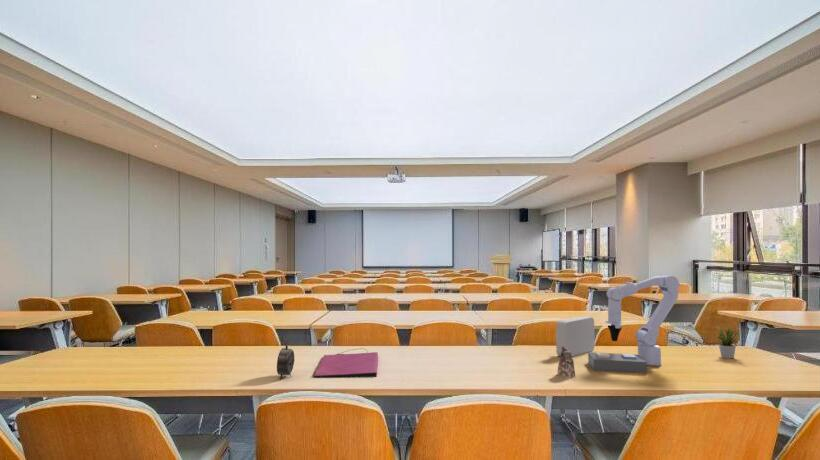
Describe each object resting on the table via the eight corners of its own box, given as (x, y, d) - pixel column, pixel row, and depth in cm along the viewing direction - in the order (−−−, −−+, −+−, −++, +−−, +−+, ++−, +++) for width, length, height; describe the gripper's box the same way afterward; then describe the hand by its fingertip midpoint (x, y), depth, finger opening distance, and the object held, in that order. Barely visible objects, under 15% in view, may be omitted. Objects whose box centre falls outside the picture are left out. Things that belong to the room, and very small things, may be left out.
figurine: (562, 378, 188) (562, 349, 188) (554, 373, 195) (554, 346, 195) (578, 377, 189) (577, 349, 189) (569, 372, 196) (569, 345, 196)
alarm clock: (284, 373, 194) (284, 336, 195) (296, 373, 194) (296, 336, 195) (275, 380, 183) (276, 341, 184) (288, 381, 183) (289, 341, 184)
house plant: (753, 358, 222) (752, 325, 222) (742, 362, 214) (741, 328, 214) (720, 353, 233) (719, 321, 234) (708, 356, 226) (708, 324, 226)
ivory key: (608, 362, 207) (607, 353, 207) (610, 365, 202) (610, 355, 202) (596, 362, 208) (596, 352, 208) (598, 365, 203) (598, 355, 204)
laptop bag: (376, 369, 189) (312, 371, 188) (377, 378, 189) (313, 380, 188) (378, 347, 229) (325, 349, 228) (378, 355, 229) (325, 356, 227)
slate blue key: (633, 364, 205) (633, 354, 205) (636, 367, 200) (636, 357, 200) (621, 363, 206) (621, 353, 206) (624, 366, 201) (624, 356, 201)
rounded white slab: (581, 347, 245) (581, 315, 246) (594, 350, 239) (594, 316, 240) (552, 355, 227) (551, 320, 228) (565, 358, 221) (565, 322, 222)
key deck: (638, 365, 208) (637, 354, 209) (646, 373, 195) (646, 362, 195) (588, 362, 213) (588, 352, 213) (593, 370, 200) (593, 359, 200)
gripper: (602, 310, 222) (602, 337, 222) (609, 314, 208) (608, 343, 208) (617, 310, 221) (617, 338, 220) (625, 315, 207) (625, 344, 206)
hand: (614, 340), depth 214 cm, fingers closed
